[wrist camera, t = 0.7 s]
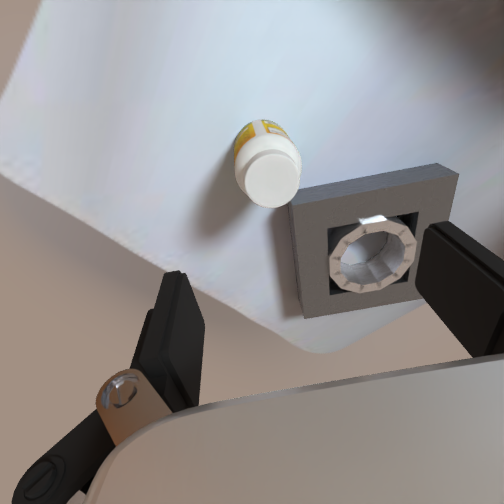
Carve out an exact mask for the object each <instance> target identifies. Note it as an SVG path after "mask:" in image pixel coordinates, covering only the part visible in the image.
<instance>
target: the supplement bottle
mask: <svg viewBox="0 0 504 504" xmlns="http://www.w3.org/2000/svg"><path fill="white" fill-rule="evenodd" d="M301 171H302V161H301V157H300V154H299V151H298V150H297V148H296V146H295V145H294V143H293V142H292V141H291V139H290V138H289V137H288V135H287V134H286V132H285V131H284V130H283V129H282V127H280V126H279V125H278V124H277V123H275V122H273V121H270V120H265V119H260V120H255V121H252V122H250V123H248V124H247V125H245V126H244V127H243V128H242V129H241V131H240V132H239V134H238V135H237V138H236V140H235V144H234V172H235V178H236V181H237V183H238V185H239V187H240V188H241V190H242V191H243V192H244V193H245V194H246V195H248V196H249V198H250V199H251V200H252V201H253V202H254V203H255V204H257V205H259V206H261V207H265V208H277V207H280V206H283V205H285V204H286V203H288V202H289V201H290V200H291V199H292V198H293V197H294V196H295V194H296V193H297V191H298V188H299V184H300V176H301Z"/></svg>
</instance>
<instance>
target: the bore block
mask: <svg viewBox="0 0 504 504" xmlns="http://www.w3.org/2000/svg"><path fill="white" fill-rule="evenodd" d="M458 177H459V174H458V173H456V172H454V171H452V170H450V169H448V168H446V167H444V166H442V165H440V164H438V163H435V164H429V165H424V166H419V167H414V168H408V169H403V170H398V171H393V172H388V173H382V174H377V175H372V176H367V177H362V178H356V179H351V180H346V181H341V182H335V183H330V184H325V185H320V186H315V187H309V188H304V189H299V190H298V191H297V193H296V194H295V196H294V197H293V198H292V199H291V200H290V201H289V202H288V210H289V218H290V227H291V236H292V244H293V253H294V262H295V270H296V279H297V288H298V296H299V302H300V305H301V309H302V312H303V316H304V319H307V318H313V317H319V316H325V315H330V314H336V313H342V312H348V311H353V310H359V309H365V308H371V307H377V306H382V305H388V304H394V303H400V302H405V301H411V300H417V299H423V297H422V296H421V295H420V293H419V292H418V291H417V289H416V287H415V278H416V273H417V267H418V262H419V256H420V251H421V245H422V240H423V234H424V230H425V229H426V228H428V226H429V225H430V224H432V223H437V222H442V221H448V220H449V216H450V212H451V207H452V203H453V199H454V194H455V190H456V185H457V181H458ZM397 215H400V218H398V217H397ZM379 231H386V232H388V237H387V243H386V244H385V246H384V247H383V248H382V250H381V251H380V253H379V254H378V255H376V256H375V257H373V258H371V259H370V260H368V261H367V262H365V263H359V264H354V265H349V264H345V263H342V262H341V257H342V255H343V254H344V252H345V251H346V249H347V247H348V246H349V244H351V243H352V242H354V241H355V240H357V239H358V238H360V237H361V236H363V235H365V234H368V233H374V232H379ZM329 275H330V276H329Z"/></svg>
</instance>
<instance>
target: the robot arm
mask: <svg viewBox="0 0 504 504" xmlns="http://www.w3.org/2000/svg"><path fill="white" fill-rule="evenodd" d="M415 287H416V289H417V291H418V292H419V293H420V295H421V296H422V297H423V298H424V299H425V301H426V302H427V303H428V304H429V305H430V306H431V308H432V309H433V310H434V311H435V313H436V314H437V315H438V316H439V317H440V319H441V320H442V321H443V322H444V324H445V325H446V326H447V327H448V328H449V330H450V331H451V332H452V333H453V334H454V336H455V337H456V338H457V339H458V340H459V342H460V343H461V344H462V345H463V347H464V348H465V349H466V350H467V351H468V353H469V354H470V355H471V356H472V357H473V358H470V359H464V360H458V361H452V362H445V363H439V364H433V365H426V366H420V367H415V368H409V369H402V370H396V371H390V372H384V373H378V374H372V375H366V376H360V377H354V378H348V379H343V380H337V381H331V382H325V383H319V384H313V385H307V386H302V387H296V388H290V389H284V390H279V391H273V392H267V393H262V394H256V395H250V396H245V397H240V398H234V399H230V400H224V401H219V402H214V403H209V404H205V405H201V406H198V405H199V393H200V381H201V369H202V357H203V345H204V333H205V324H204V319H203V317H202V314H201V311H200V309H199V306H198V304H197V301H196V299H195V296H194V293H193V290H192V288H191V285H190V283H189V280H188V277H187V275H186V273H181V272H180V271H179V270H178V271H173V272H167V273H165V274H164V276H163V279H162V283H161V286H160V290H159V293H158V296H157V300H156V303H155V307H154V309H150V310H149V311H148V313H147V315H146V318H145V322H144V325H143V328H142V331H141V334H140V337H139V340H138V344H137V347H136V350H135V353H134V356H133V359H132V363H131V366H130V369H125V370H123V371H120V372H118V373H116V374H115V375H113V376H112V377H111V378H109V379H108V380H107V381H106V382H105V383H104V384H103V386H102V387H101V388H100V390H99V392H98V394H97V397H96V408H97V409H96V410H95V411H93V412H92V413H91V414H90V415H89V416H88V417H87V418H85V419H84V420H83V421H82V422H81V423H80V424H78V425H77V426H76V427H75V428H74V429H73V430H72V431H70V432H69V433H68V434H67V435H66V436H65V437H64V438H62V439H61V440H60V441H59V442H58V443H57V444H55V445H54V446H53V447H52V448H51V449H50V450H49V451H47V453H45V454H44V455H43V456H42V457H40V458H39V459H38V460H37V461H36V462H35V463H34V464H33V465H32V466H31V467H30V468H29V469H28V470H27V471H26V472H25V474H24V475H23V477H22V478H21V479H20V481H19V483H18V485H17V487H16V489H15V491H14V494H13V498H12V504H504V261H503V260H502V259H501V258H499V257H498V256H496V255H495V254H494V253H492V252H491V251H490V250H488V249H487V248H485V247H484V246H483V245H481V244H480V243H478V242H477V241H476V240H474V239H473V238H472V237H470V236H469V235H467V234H466V233H465V232H463V231H462V230H460V229H459V228H458V227H456V226H455V225H454V224H452V223H451V222H449V221H442V222H437V223H432V224H430V225H429V226H428V228H426V229H425V230H424V234H423V240H422V245H421V251H420V256H419V262H418V267H417V273H416V278H415Z"/></svg>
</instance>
